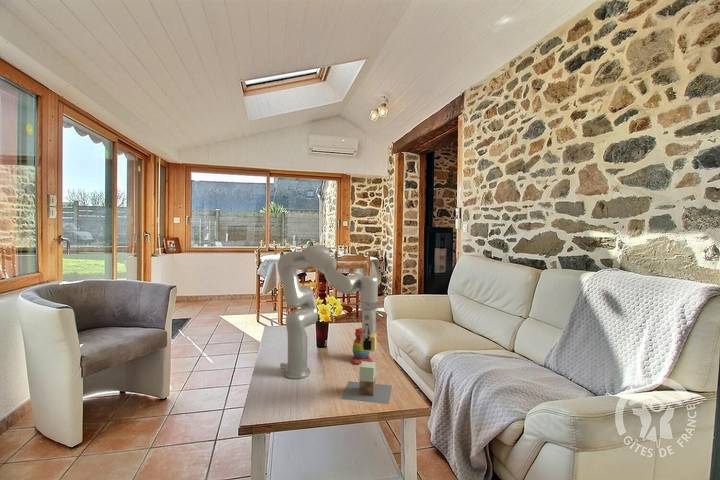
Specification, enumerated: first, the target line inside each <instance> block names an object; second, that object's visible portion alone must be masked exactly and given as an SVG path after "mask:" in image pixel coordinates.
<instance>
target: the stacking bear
mask: <svg viewBox="0 0 720 480" xmlns="http://www.w3.org/2000/svg"><path fill="white" fill-rule="evenodd" d="M354 334H355V338H354V341H353V344H352V354H353V357H352V359H351V363H352V364H353V365H355V366H358V365H359V366H360V365H361V362H362V361H365V362H373V359H372V358H371V357H370V352H371V351H361V350H360V348H361V335H362V327H359V328H355V332H354Z"/></svg>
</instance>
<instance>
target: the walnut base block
mask: <svg viewBox="0 0 720 480" xmlns="http://www.w3.org/2000/svg"><path fill="white" fill-rule="evenodd" d="M359 382H360V383H359V395H369V396H373V395H374V392H375V384H376V377H375V378H374V382H367V381H359Z"/></svg>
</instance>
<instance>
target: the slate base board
mask: <svg viewBox="0 0 720 480" xmlns="http://www.w3.org/2000/svg"><path fill="white" fill-rule="evenodd" d="M359 383H360V381H351V380H350V381H349V380H348V382H347V383H346V386H345V389H344V391H343V393H342V394H341V397H340V400H346V401H347V400H349V401H356V402H366V403H375V404H376V403H377V404H384V405H385V404H386V405H390V400H391V393H392V388H393V385H392V384H383V383H382V384H381V383H375V392H374V395H373V396H369V395H359Z"/></svg>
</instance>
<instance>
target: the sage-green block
mask: <svg viewBox="0 0 720 480" xmlns="http://www.w3.org/2000/svg"><path fill="white" fill-rule="evenodd" d="M358 374H359V379H358V380H359V381H358V382H360V381H367V382H374V378H375V379H376V362H375V361H372V362H365V361H362V362H361V364H359V373H358Z"/></svg>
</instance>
